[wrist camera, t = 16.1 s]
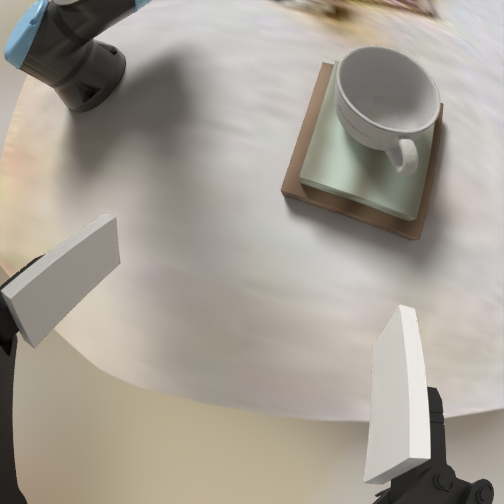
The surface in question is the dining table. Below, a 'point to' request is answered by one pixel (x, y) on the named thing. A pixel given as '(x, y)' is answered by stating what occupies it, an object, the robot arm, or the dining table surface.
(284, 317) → the dining table surface
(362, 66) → the teacup
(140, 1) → the robot arm
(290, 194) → the block stand
